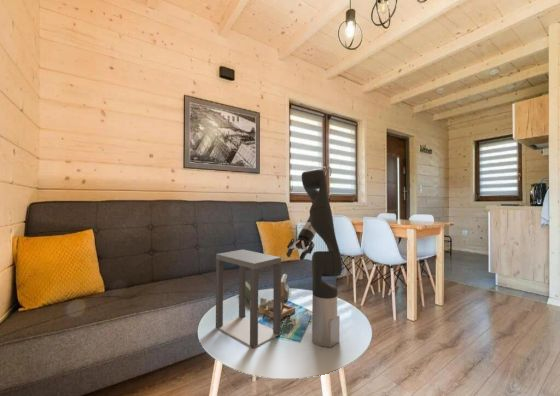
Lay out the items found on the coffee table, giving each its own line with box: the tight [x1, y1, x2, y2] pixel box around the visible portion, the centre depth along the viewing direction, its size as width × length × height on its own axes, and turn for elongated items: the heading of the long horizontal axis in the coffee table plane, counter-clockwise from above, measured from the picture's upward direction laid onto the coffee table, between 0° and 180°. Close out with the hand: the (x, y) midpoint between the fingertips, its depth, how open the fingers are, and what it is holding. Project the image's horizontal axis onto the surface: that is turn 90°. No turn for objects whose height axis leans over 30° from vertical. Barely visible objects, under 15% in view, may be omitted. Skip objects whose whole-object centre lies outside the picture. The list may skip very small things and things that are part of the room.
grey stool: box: [215, 249, 282, 349], centre depth 110 cm, size 23×14×30 cm, turn 48°
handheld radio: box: [245, 281, 250, 302], centre depth 142 cm, size 7×3×25 cm
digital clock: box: [281, 273, 290, 301], centre depth 147 cm, size 16×9×11 cm, turn 162°
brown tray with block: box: [258, 281, 296, 319], centre depth 128 cm, size 14×11×14 cm
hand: (294, 257), depth 138 cm, fingers open, 8 cm apart
